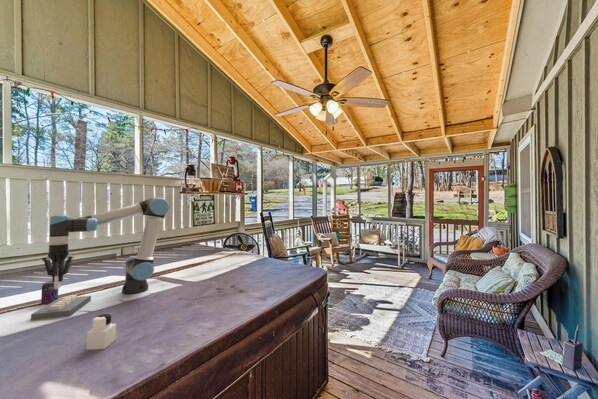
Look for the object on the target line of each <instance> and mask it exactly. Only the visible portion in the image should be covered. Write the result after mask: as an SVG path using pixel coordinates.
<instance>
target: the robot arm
mask: <svg viewBox="0 0 598 399" xmlns="http://www.w3.org/2000/svg"><path fill="white" fill-rule="evenodd" d="M169 210H170V204H169V202H168V200H166V199H165V198H163V197H158V196H157V197H150V198H148V199H145V200H142V201H139V202H137V203H135V204H132V205H128V206H123V207H120V208H115V209H111V210H107V211H102V212H99V213H95V214H91V215H86V216H80V217H77V218H71V217H70V216H69V215H67V214H63V215H62V214H61V215H60V214H59V215H51V216H50V219H49V236H48V237H49V238H48V240H49V241H48V244H49V245H48V254H47V256H45V257H42V259H41V260H42V262H44V266H45V269H46V274H47V276H51V278H52V279H51V281H52V282H54V289H58V290H59V289H60V288H61V286H62V284H61V283H62V282H63V280H64V278H63V277H64V275H66V274H68V272H69V270H70V266H71V263H72V261H73V259H74V258H75V256H74V255H71V254H70V253H69V240H70V239H69V234H70V233H78V232H79V233H81V232H83V233H86V232H95V231H97V228H98V226H103V225H107V224H110V223H114V222H118V221H121V220H125V219H129V218H132V217H136V216H141V217H142V216H144V217H145V218H146V220H145V226H144V229H143V232H142V236H141V239H140V240H141V241H140V244H139V248H138V252H137V255H135V256H131V257H130V256H129V257H127V258H126V259H125V281H124V284H123V285H122V288H121V293H122V294H124V295H130V294H131V295H133V294H138V293H143V292H145V290H146V291H148V290H149V283H148V280H147V279H149V278H151V277H152V275H153V274H154V272H155V267H154V262H155V258H154V257H153V255H154V251H155V246H156V244H157V239H158V235H159V231H160V227H161V224H162V221H164V219H165V218H166V214H167V213H168V212H169ZM65 260H66V261H65ZM142 291H143V292H142Z"/></svg>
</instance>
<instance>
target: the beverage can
mask: <svg viewBox="0 0 598 399" xmlns="http://www.w3.org/2000/svg"><path fill="white" fill-rule="evenodd" d="M40 296H41V299H40V300H41V302H40V303H41V304H43V305H48V304H50V303H52V302H53V301H55V300H57V299H59V288H58V289H54V282H52V280H50V281H46V282H43V283H42V286H41V295H40Z"/></svg>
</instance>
